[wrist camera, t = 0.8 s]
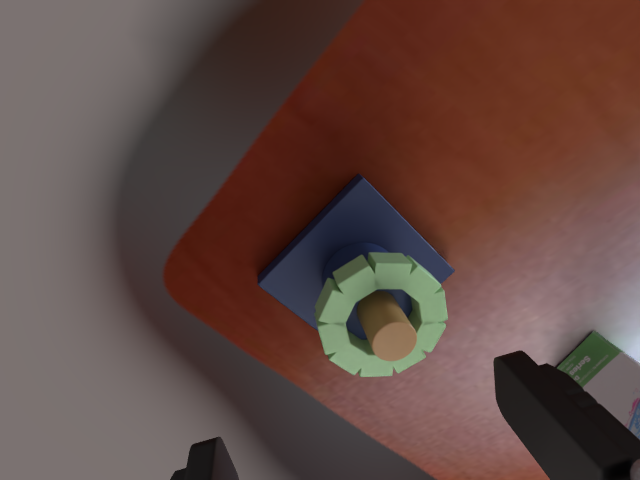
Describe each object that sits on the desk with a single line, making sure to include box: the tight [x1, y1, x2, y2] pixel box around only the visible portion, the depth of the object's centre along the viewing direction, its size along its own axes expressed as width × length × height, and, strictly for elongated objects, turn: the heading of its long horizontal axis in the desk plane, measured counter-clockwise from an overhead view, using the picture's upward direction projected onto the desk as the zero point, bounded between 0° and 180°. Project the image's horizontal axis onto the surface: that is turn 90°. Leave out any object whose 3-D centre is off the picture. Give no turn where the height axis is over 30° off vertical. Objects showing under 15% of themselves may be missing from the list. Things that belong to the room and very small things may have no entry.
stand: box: [258, 174, 454, 361], centre depth 22 cm, size 9×9×8 cm
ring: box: [314, 252, 448, 377], centre depth 20 cm, size 7×7×1 cm
